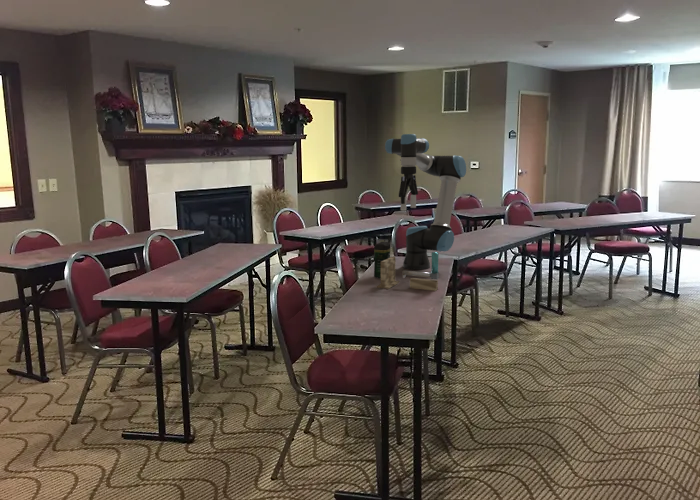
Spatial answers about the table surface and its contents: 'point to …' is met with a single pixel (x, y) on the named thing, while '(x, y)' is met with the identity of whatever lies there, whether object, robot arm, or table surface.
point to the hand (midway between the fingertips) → (408, 209)
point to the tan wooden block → (388, 273)
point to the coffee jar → (380, 256)
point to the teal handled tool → (433, 274)
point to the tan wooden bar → (424, 284)
